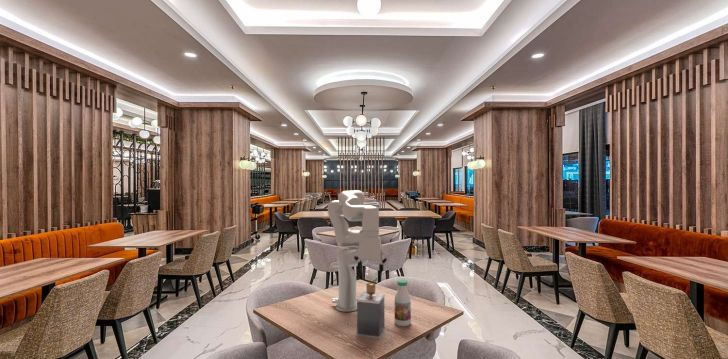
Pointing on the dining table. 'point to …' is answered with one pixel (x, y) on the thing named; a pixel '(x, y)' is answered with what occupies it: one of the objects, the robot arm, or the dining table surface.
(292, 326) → the dining table surface
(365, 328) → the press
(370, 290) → the plunger
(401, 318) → the milk bottle
